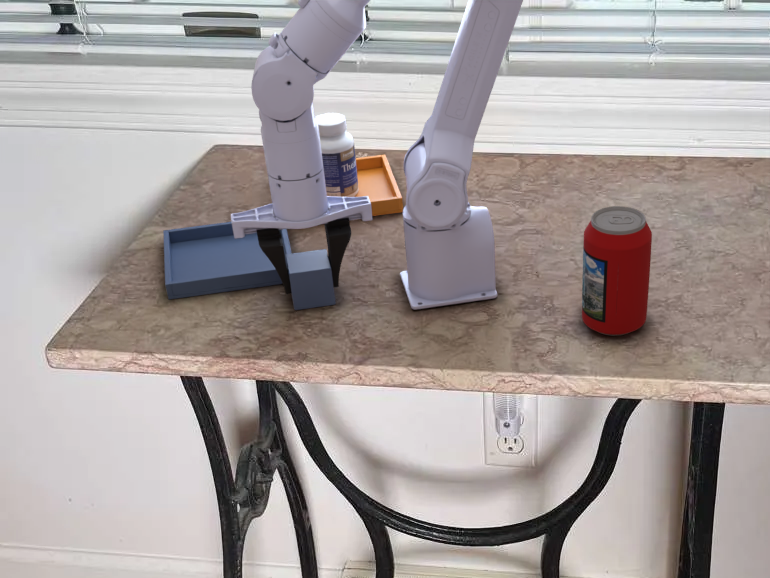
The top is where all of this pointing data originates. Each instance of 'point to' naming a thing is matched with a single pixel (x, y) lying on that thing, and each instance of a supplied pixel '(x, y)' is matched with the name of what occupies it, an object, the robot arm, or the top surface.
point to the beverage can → (616, 270)
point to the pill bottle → (337, 155)
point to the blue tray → (215, 261)
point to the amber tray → (378, 185)
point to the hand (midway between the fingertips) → (311, 286)
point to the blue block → (310, 279)
